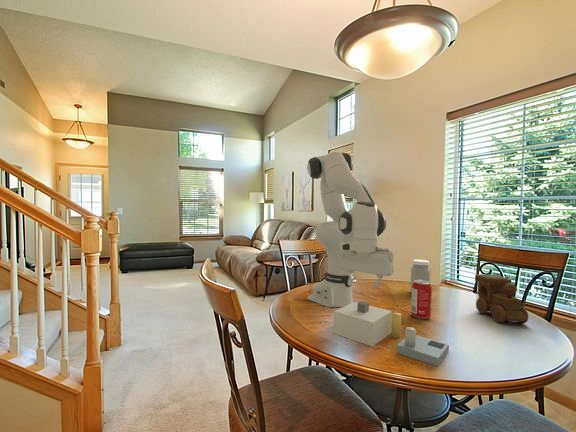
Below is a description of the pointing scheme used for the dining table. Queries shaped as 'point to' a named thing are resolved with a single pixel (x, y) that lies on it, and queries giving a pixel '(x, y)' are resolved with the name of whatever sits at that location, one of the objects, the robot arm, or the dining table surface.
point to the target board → (422, 348)
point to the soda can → (421, 299)
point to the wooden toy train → (499, 299)
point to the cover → (362, 323)
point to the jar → (420, 271)
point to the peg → (396, 325)
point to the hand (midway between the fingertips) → (364, 284)
